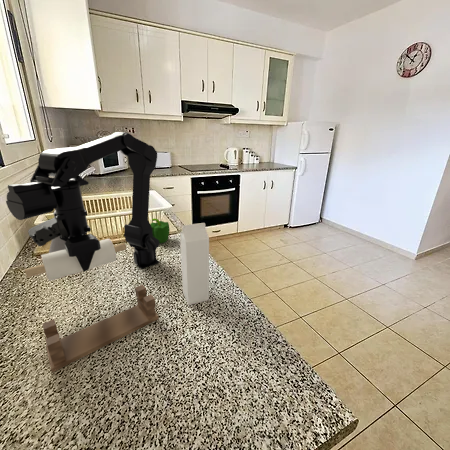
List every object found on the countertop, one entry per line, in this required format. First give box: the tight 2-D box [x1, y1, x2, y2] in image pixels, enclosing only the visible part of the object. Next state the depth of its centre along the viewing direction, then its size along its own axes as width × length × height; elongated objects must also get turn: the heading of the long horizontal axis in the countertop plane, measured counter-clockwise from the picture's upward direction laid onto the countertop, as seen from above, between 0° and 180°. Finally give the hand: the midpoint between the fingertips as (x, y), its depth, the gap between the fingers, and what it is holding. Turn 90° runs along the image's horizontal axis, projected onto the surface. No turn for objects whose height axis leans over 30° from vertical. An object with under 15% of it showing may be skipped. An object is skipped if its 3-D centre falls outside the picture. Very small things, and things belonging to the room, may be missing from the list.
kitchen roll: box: [24, 238, 127, 282], centre depth 60 cm, size 22×6×6 cm, turn 131°
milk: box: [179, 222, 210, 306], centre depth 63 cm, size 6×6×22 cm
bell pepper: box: [150, 217, 171, 244], centre depth 98 cm, size 8×8×10 cm
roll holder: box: [41, 284, 160, 374], centre depth 53 cm, size 22×7×6 cm, turn 131°
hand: (82, 264), depth 61 cm, fingers closed on kitchen roll, 6 cm apart
